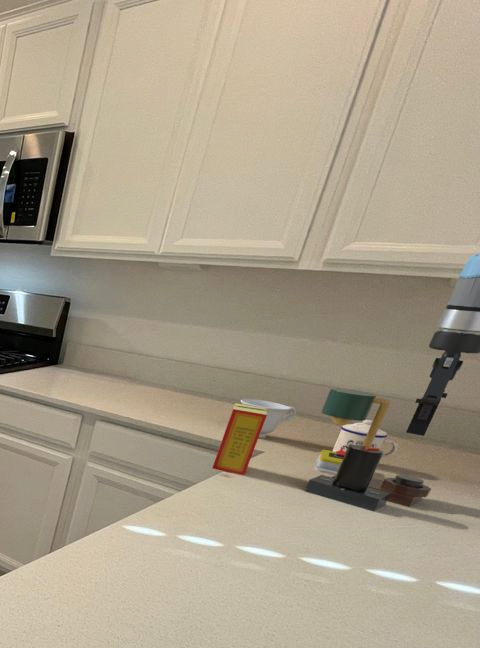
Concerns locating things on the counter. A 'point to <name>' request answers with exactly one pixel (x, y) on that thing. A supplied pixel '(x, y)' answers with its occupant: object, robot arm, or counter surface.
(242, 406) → the baking soda box
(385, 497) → the dimmer panel
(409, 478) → the lamp button
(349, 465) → the black pen holder
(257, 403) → the teacup
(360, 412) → the desk lamp
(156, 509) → the counter surface
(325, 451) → the emergency button
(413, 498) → the lamp base
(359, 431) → the teacup with lid
